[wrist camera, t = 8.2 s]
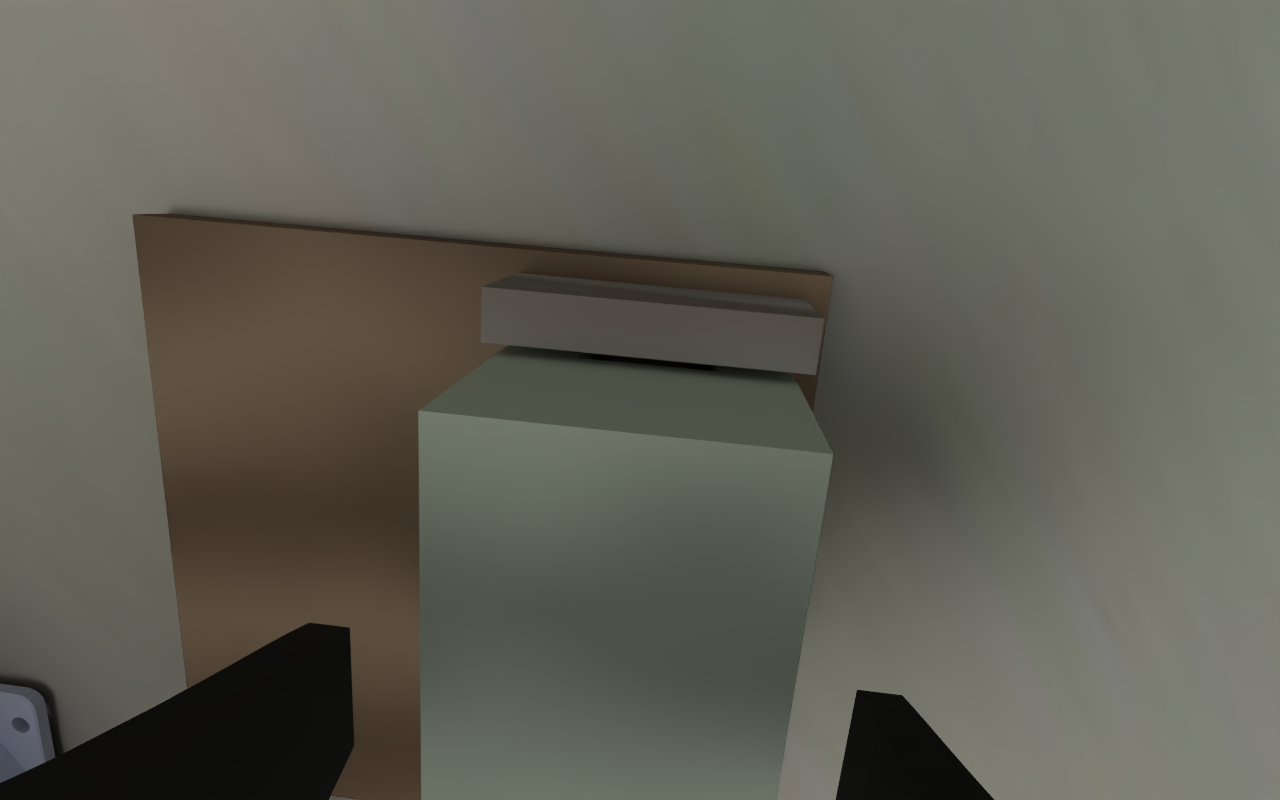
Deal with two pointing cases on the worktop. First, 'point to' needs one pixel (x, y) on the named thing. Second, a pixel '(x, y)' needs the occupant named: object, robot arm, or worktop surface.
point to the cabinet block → (613, 578)
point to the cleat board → (381, 416)
